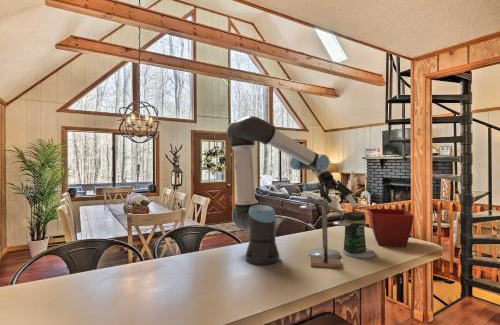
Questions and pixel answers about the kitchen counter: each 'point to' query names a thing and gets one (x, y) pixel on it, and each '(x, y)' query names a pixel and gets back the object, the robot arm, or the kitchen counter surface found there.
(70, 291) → the kitchen counter surface
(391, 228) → the plant pot
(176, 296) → the kitchen counter surface
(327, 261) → the balance
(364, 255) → the right dish
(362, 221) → the coffee jar
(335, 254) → the left dish
